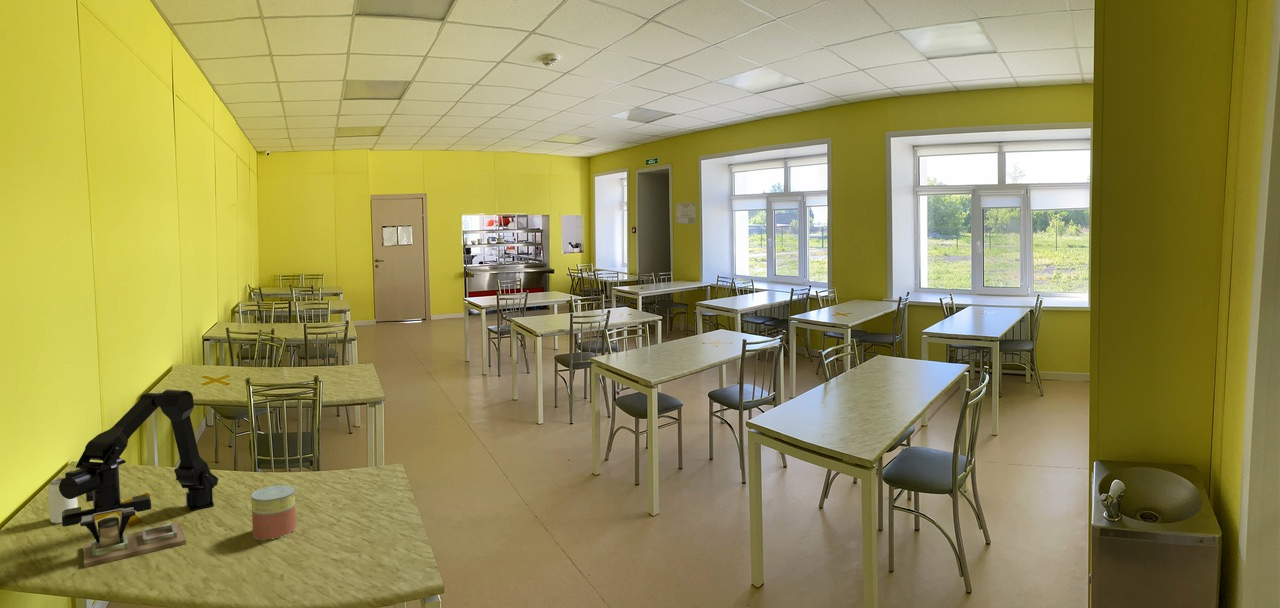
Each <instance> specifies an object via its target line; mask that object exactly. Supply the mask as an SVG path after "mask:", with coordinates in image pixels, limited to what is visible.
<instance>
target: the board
mask: <svg viewBox="0 0 1280 608" xmlns="http://www.w3.org/2000/svg"><path fill="white" fill-rule="evenodd" d="M183 545H187V539H186V536H185V533H184V530H183V528H182V525H181V523H180V522H175V523H174V522H172V523H168V524H163V525H159V526H154V527H153V526H152V527H150V528H148V527H147V528H145V529H141V530H140V531H136V532H135V531H134V532H130V533H126V532H125V533H123V535H122V538H120V544H117V545H113V546H108V547H104V548H99V543H97V541H96V540H95V539H94V540H93V539H92V540H91V541H88V542H85V543H83V544H82V546H83V549H82V550H83V565H84V566H83V568H89V567H93V566H97V565H101V564H107V563H110V562H115V561H119V560H123V559H127V558H128V559H129V558H132V557H136V556H140V555H145V554H149V553H153V552H156V551H161V550H166V549H171V548H174V547H178V546H179V547H180V546H183Z"/></svg>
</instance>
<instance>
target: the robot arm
mask: <svg viewBox="0 0 1280 608" xmlns="http://www.w3.org/2000/svg"><path fill="white" fill-rule="evenodd" d="M194 403H195V402H194V396H193V393H192V392H191V391H189V390H183V389H182V390H179V389H165V390H164V391H162V392H146V393H143V394H141V395H140V397H139V399H138V400H137V402H136V403H135V404H133V406H131V408H130V409H129V410H128V411H126V413H125V414H124V415H123V416H122V417H121V418H120V419H119V420H118V421H117V422H116V423H115V424H114V425H113V426H112V427H111V428H109V429H107V430H104V431H102V432H100V433H99V434H96V436H95V437H93V438H92V439H90V440H89V441H88V442H87V443H86V445H85V447H84V448H85V449H84V451H82V454H81V456H80V458H79V459H78V461H77V463H76V465H75V468H76V469H74V470H70V471H67V472H65V474H64V475H65V477H63V478H64V479H62V480H61V482H60V485H59V491H60V493H61V495H62V496H63V497H65V498H67V499H73V498H76V497H77V498H78V497H81V496H83V495H85V499H86V500H85V501H86V502H88V503H89V502H92V505H93V506H92V507H93V508H89V509H84V510H82V507H81V506H78V507H77V508H71V509H66V510H64V511H63V512H62V523H61V524H62V527H65V528H66V527H70V526H75V525H79V524H80V525H79V526H80V527H86V528H87V529H88V531H90V533H91V535H92V537H93V538H94V540H96V541H97V543H99V532H98V526H97V523H96V519H95V516H100V515H104V514H109V513H115V512H120V518H119V534H120V538H122V535H123V534H125V533H124V532H125V530H126V526H127V525H128V524H129V521H130V520H131V517H134V516H136V515H137V514H136V512H137V513H139V512H145V511H148V510H151V509H152V501H151V497H150V495H149V494H140V495H135V496H131V500H130V501H126V502H122V501H121V500H122V499H121V484H120V469H119V466H121V465H124V464H126V462H127V461H126V460H125V459H123V458H121V456H122V454H123V453H124V451H125V450H126V449H127V447H128V443H129V439H130V438H131V436H133V435H134V433H135V432H136V431H137V430H138V429H139V428H140V427H141V426H142V425H143V424H144V423H145V421H146V420H148V419H149V417H151V415H152V414H153V413H154V412H155V411H156V410H157V409H158V408H160V411H161V412H162V414H164V415H165V416H166V417H167V418H168V419H169V420H170V423H171V427H172V431H173V436H174V439H175V443H176V446H177V451H178V455H179V459H180V462H179V464H178V466H177V467H176V468H175V469H174V470H173V471H174V474H175V481H178V483H179V484H180V485H181V489H187V491H186V492H185V505H186V508H188V510H189V511H196V510H200V509H206V508H210V507H214V506H215V503H214V501H213V500H214V499H213V498H214V497H213V489H215V487H216V486H218V484H219V483H218V482H219V478H218V477H217V476H216V475H215V474H213V473H212V472H211V469H210V467H209V465H208V463H207V462H206V461H205V460H204V458H202V457H201V456H200V452H199V448H198V444H197V440H196V436H195V430H194V428H193V424H192V419H191V414H192V412H193V410H194V406H195V405H194Z"/></svg>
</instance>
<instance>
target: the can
mask: <svg viewBox="0 0 1280 608" xmlns="http://www.w3.org/2000/svg"><path fill="white" fill-rule="evenodd" d="M64 478H65V477H61V478H57V479H53V480H51V481H50V482H49V485H48V488H47V494H48V496H47V497H48V509H49V520H50V522H51V523H52V524H62V512H63V511H64V510H66V509H71V508H77V507H79V502H78V497H76V498H73V499H67V498H65V497H63V496H62V495H61V493H60V491H59V485H60V482H61V480H62V479H64Z"/></svg>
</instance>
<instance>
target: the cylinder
mask: <svg viewBox="0 0 1280 608" xmlns="http://www.w3.org/2000/svg"><path fill="white" fill-rule="evenodd" d="M119 528H120V518H119V517H117V516H116V517H115V516H112V517H105V518H102V519H100V520H99V521H97V531H98V535H99V548H104V547H108V546H113V545H117V544H120V534H119Z"/></svg>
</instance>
